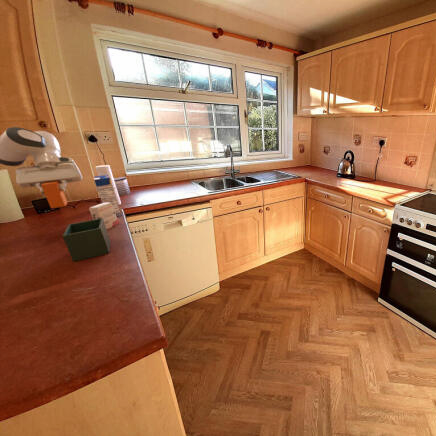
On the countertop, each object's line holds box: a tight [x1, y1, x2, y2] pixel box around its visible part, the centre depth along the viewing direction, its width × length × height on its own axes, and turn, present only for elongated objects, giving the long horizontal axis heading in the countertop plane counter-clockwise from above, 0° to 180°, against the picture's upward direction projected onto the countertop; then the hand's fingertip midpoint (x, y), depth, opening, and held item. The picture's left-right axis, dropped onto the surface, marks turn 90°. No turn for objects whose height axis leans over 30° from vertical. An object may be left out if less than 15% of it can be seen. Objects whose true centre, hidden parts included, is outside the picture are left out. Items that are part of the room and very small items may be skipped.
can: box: [114, 176, 131, 197], centre depth 181 cm, size 11×11×12 cm
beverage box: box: [93, 175, 123, 218], centre depth 137 cm, size 7×11×22 cm, turn 39°
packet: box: [41, 181, 68, 209], centre depth 102 cm, size 4×6×10 cm
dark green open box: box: [62, 218, 112, 263], centre depth 99 cm, size 11×13×11 cm
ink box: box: [88, 202, 120, 230], centre depth 122 cm, size 9×5×12 cm, turn 168°
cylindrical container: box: [95, 164, 122, 206], centre depth 154 cm, size 7×7×25 cm
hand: (53, 191), depth 101 cm, fingers closed on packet, 4 cm apart
